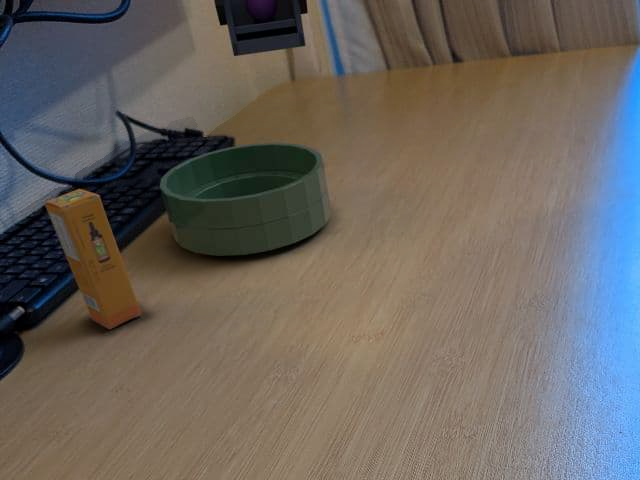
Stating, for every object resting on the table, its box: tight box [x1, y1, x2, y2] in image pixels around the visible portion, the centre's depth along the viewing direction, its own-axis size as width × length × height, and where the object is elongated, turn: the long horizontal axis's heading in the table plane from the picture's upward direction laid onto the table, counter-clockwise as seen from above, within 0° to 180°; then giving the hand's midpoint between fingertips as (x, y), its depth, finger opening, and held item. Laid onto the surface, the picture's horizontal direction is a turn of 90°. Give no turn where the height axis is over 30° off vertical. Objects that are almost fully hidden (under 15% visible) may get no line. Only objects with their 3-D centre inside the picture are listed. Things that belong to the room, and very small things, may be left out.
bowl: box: [159, 142, 332, 257], centre depth 78 cm, size 15×15×6 cm
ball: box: [245, 0, 277, 22], centre depth 83 cm, size 3×3×3 cm
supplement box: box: [44, 188, 142, 330], centre depth 65 cm, size 3×3×10 cm
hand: (262, 9), depth 79 cm, fingers closed on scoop, 7 cm apart
